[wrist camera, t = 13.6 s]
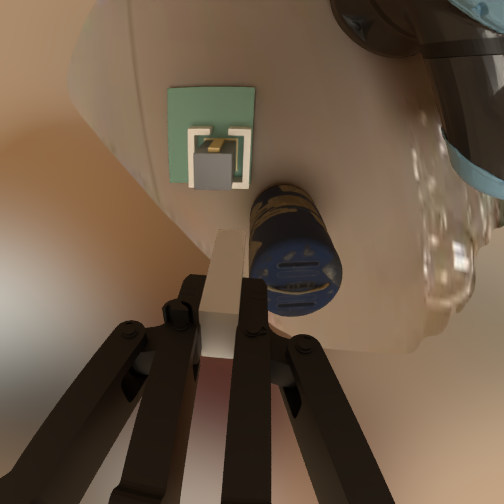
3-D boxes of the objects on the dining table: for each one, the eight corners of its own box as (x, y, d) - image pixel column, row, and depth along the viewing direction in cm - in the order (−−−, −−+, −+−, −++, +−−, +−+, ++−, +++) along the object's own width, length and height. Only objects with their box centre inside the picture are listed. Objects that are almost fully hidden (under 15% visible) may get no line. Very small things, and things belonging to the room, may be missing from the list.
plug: (205, 137, 36) (193, 149, 29) (236, 137, 36) (231, 150, 29) (205, 169, 39) (194, 189, 32) (235, 170, 39) (231, 190, 32)
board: (170, 88, 34) (167, 88, 33) (254, 87, 34) (254, 87, 33) (172, 179, 41) (169, 182, 40) (250, 181, 41) (250, 184, 40)
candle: (257, 175, 40) (259, 238, 25) (323, 190, 41) (363, 258, 26) (244, 235, 45) (238, 321, 30) (305, 247, 46) (327, 333, 31)
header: (191, 126, 36) (187, 128, 33) (251, 126, 36) (251, 129, 34) (192, 181, 39) (188, 187, 37) (248, 182, 40) (248, 188, 37)
